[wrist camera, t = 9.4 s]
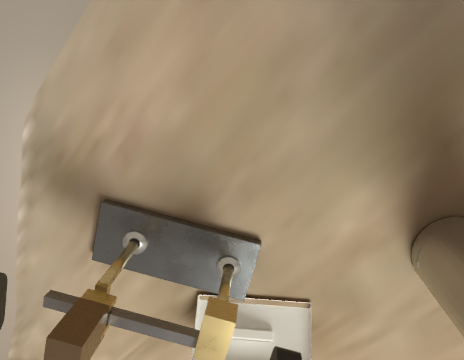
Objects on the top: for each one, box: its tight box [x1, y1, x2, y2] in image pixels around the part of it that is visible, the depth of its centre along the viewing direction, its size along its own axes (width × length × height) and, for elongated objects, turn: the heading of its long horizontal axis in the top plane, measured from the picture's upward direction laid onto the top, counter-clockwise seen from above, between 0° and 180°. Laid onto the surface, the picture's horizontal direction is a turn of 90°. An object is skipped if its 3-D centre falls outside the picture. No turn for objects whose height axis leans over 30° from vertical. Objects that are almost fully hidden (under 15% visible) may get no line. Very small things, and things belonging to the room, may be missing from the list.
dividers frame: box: [43, 265, 238, 360], centre depth 43 cm, size 18×5×12 cm, turn 76°
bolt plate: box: [92, 199, 261, 301], centre depth 49 cm, size 20×8×2 cm, turn 76°
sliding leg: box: [44, 241, 138, 360], centre depth 41 cm, size 3×5×17 cm, turn 166°
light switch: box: [191, 295, 312, 360], centre depth 50 cm, size 8×5×14 cm
